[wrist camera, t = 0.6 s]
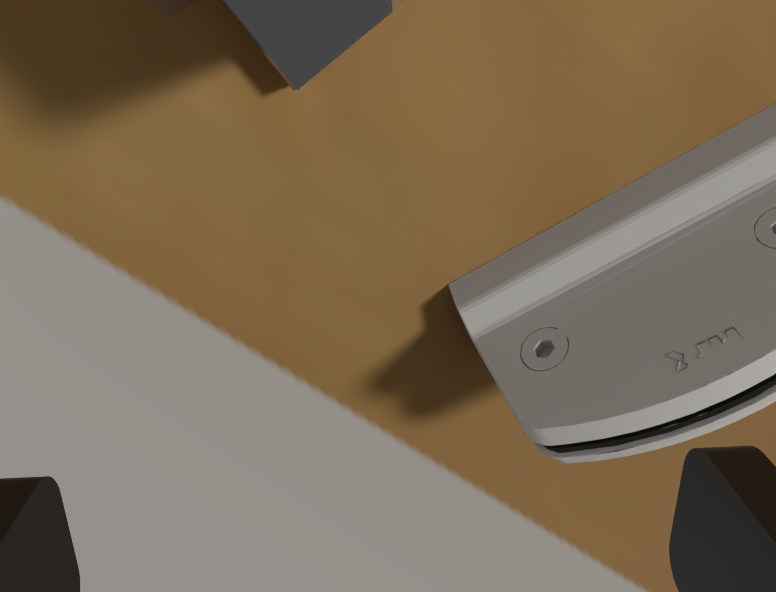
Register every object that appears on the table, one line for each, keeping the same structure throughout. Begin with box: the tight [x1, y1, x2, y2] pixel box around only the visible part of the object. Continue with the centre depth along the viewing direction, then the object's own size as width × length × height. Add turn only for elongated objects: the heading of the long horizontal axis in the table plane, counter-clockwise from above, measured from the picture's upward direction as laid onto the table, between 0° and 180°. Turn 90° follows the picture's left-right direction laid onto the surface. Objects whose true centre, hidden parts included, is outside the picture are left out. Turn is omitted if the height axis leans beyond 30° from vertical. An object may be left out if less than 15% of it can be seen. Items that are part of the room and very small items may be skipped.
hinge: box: [448, 103, 776, 463], centre depth 30 cm, size 17×5×10 cm, turn 122°
